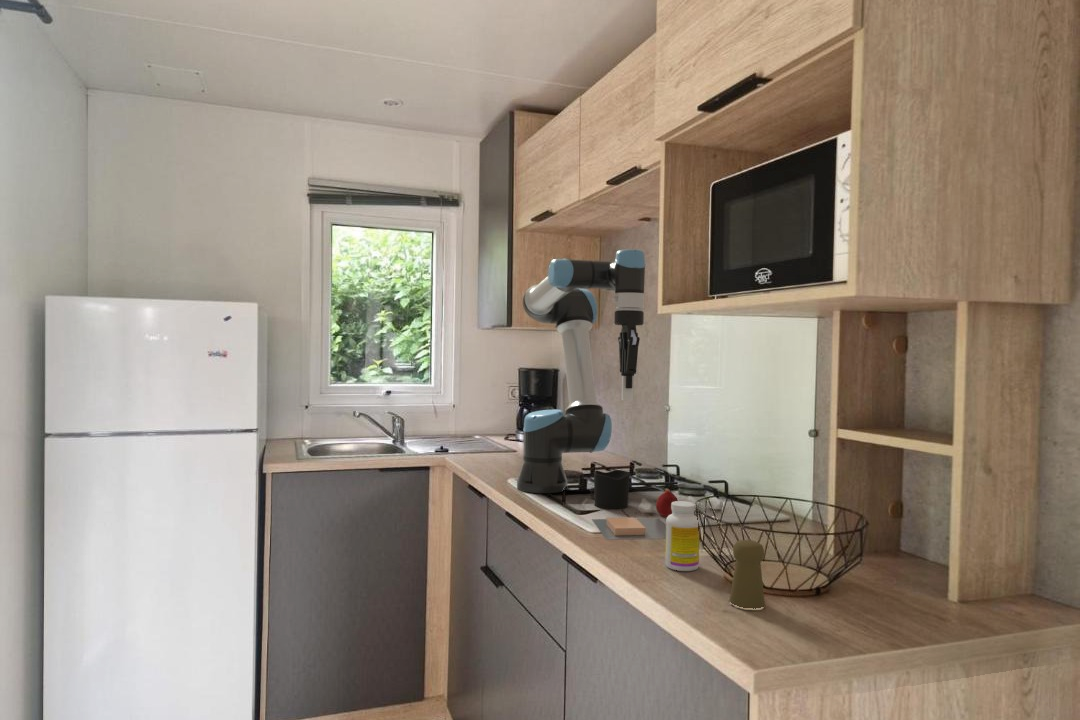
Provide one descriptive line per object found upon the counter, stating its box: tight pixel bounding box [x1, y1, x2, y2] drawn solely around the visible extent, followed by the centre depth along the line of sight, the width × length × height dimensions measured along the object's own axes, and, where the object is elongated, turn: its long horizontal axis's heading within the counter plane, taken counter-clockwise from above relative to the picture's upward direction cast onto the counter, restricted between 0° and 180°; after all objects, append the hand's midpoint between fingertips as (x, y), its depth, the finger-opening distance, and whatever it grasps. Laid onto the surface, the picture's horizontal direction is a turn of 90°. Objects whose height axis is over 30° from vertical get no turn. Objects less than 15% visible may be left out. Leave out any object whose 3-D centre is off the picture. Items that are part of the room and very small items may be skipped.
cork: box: [729, 539, 766, 609], centre depth 121 cm, size 6×6×11 cm
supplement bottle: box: [664, 500, 701, 572], centre depth 140 cm, size 7×7×13 cm
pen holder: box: [593, 469, 631, 511], centre depth 186 cm, size 9×9×10 cm
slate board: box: [591, 517, 666, 541], centre depth 164 cm, size 17×17×1 cm
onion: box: [655, 488, 679, 518], centre depth 176 cm, size 6×6×8 cm
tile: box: [605, 517, 646, 536], centre depth 162 cm, size 2×7×9 cm
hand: (627, 400), depth 182 cm, fingers closed
